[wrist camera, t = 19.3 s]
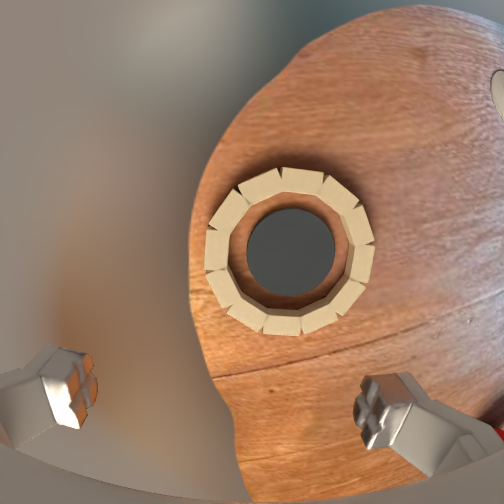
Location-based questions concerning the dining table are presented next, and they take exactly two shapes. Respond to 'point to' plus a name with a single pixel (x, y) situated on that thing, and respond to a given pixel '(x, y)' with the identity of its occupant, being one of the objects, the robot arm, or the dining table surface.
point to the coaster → (290, 251)
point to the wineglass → (498, 91)
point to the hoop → (319, 310)
